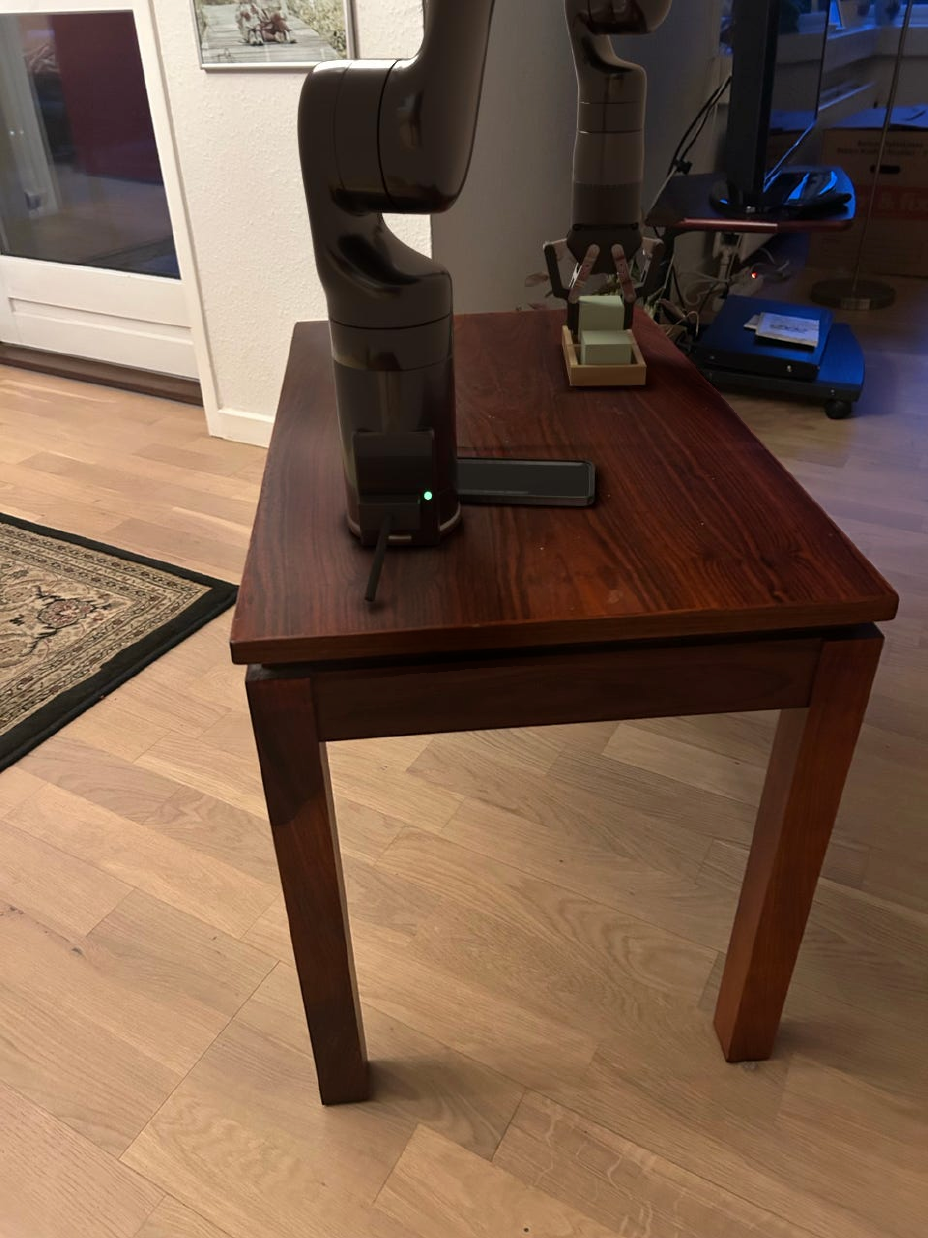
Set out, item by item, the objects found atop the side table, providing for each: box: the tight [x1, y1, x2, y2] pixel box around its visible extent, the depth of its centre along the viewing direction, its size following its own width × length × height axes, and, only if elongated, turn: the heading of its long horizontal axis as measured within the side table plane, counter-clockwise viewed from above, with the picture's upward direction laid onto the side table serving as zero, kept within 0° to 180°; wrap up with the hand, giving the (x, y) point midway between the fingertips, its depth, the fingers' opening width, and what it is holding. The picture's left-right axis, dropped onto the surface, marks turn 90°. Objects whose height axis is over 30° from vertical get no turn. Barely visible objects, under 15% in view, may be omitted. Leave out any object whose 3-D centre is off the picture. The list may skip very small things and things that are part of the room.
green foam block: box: [580, 330, 632, 365], centre depth 105 cm, size 5×5×4 cm
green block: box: [577, 295, 625, 343], centre depth 111 cm, size 5×5×4 cm
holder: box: [561, 325, 647, 387], centre depth 109 cm, size 15×8×3 cm, turn 179°
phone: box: [457, 455, 596, 507], centre depth 84 cm, size 8×1×15 cm
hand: (598, 332), depth 111 cm, fingers closed on green block, 5 cm apart
